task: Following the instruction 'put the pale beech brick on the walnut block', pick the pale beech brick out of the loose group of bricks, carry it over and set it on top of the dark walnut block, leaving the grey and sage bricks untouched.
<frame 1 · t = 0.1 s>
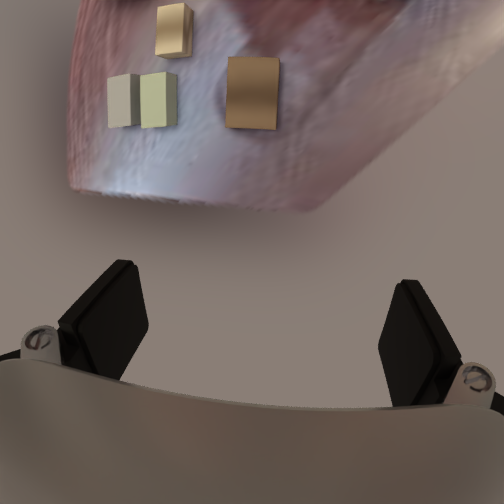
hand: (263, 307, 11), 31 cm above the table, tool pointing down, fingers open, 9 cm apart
sage brick: (165, 100, 37), on the table
grey brick: (132, 100, 37), on the table
beech brick: (180, 34, 32), on the table
walnut base: (254, 93, 35), on the table
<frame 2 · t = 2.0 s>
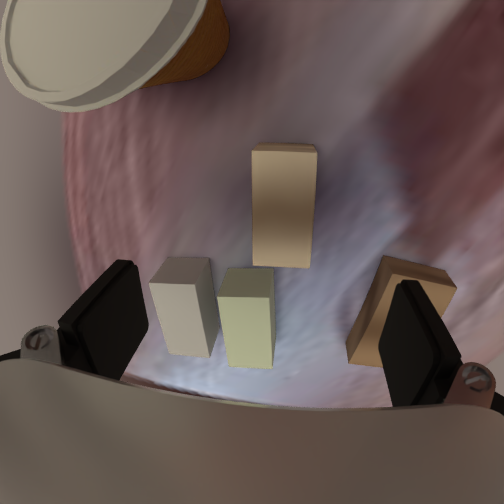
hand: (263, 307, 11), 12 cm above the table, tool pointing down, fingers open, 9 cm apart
sage brick: (253, 304, 25), on the table
grey brick: (195, 293, 26), on the table
disposable coffee cup: (184, 39, 17), on the table
beech brick: (285, 193, 21), on the table
walnut base: (393, 306, 24), on the table
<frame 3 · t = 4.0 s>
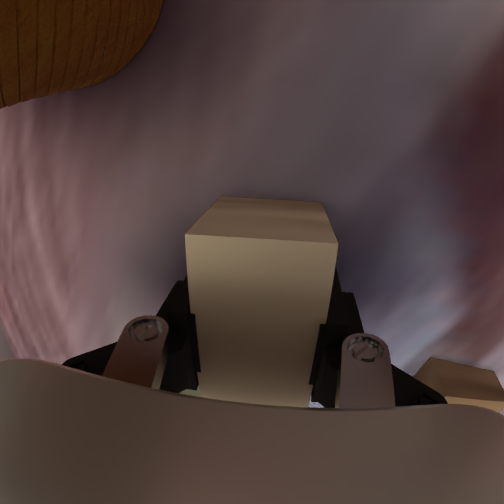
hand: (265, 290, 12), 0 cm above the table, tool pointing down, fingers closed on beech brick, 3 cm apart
disposable coffee cup: (94, 17, 8), on the table
beech brick: (266, 288, 12), on the table, touching gripper
walnut base: (418, 409, 15), on the table
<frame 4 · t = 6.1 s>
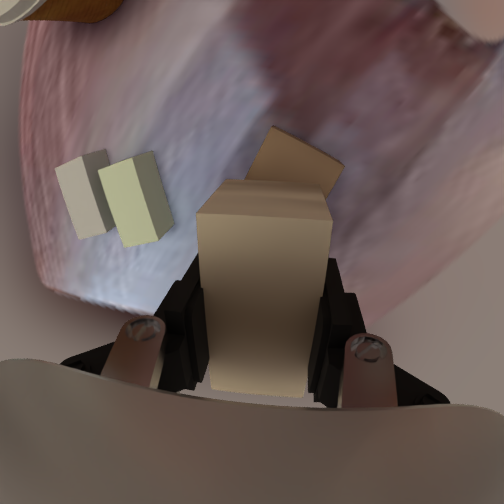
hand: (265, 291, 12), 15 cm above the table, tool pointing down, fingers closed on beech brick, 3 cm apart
sage brick: (147, 191, 27), on the table
grey brick: (102, 187, 27), on the table
beech brick: (269, 264, 13), point 14 cm above the table, touching gripper
walnut base: (281, 189, 25), on the table
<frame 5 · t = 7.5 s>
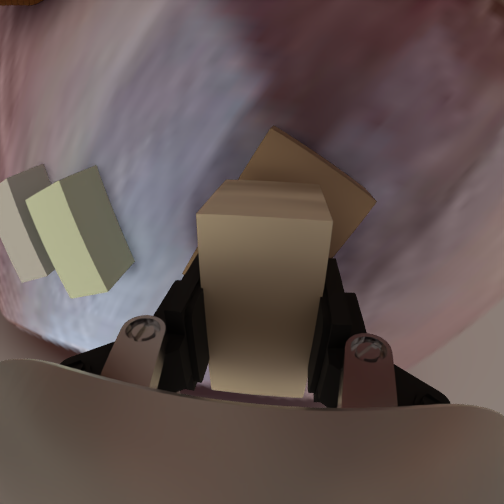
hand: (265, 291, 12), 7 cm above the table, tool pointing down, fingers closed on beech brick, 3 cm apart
sage brick: (97, 220, 19), on the table
grey brick: (47, 213, 19), on the table
beech brick: (269, 264, 13), point 5 cm above the table, touching gripper
walnut base: (276, 219, 18), on the table
when the fingers open (5 cm above the table, at t = 8.5 s): beech brick drops 1 cm, resting on walnut base.
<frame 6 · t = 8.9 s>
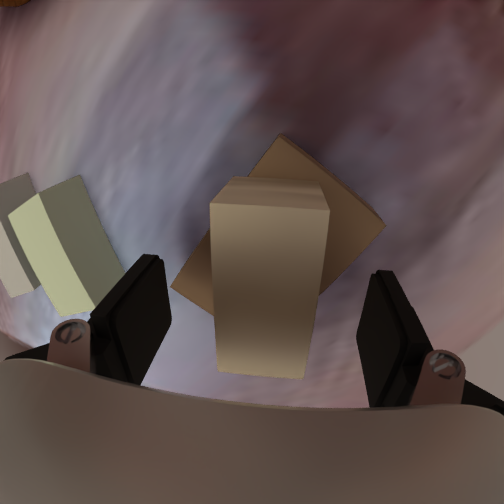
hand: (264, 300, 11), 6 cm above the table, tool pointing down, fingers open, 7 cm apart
sage brick: (84, 233, 18), on the table
grey brick: (34, 224, 18), on the table
beech brick: (271, 255, 14), point 3 cm above the table, touching walnut base
walnut base: (274, 233, 17), on the table, touching beech brick
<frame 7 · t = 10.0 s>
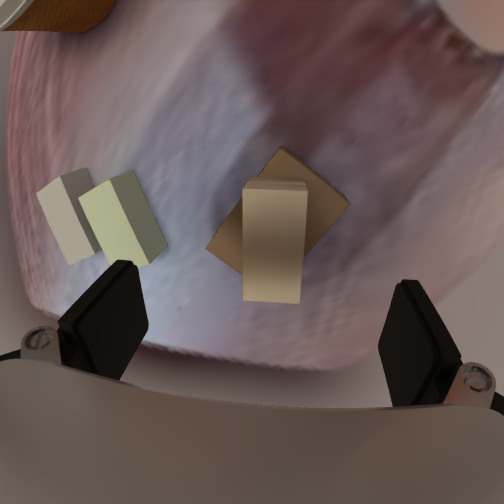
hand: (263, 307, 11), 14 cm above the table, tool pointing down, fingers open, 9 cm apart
sage brick: (134, 214, 25), on the table
grey brick: (89, 208, 25), on the table
disposable coffee cup: (90, 4, 18), on the table
beech brick: (276, 227, 21), point 3 cm above the table
walnut base: (277, 214, 24), on the table
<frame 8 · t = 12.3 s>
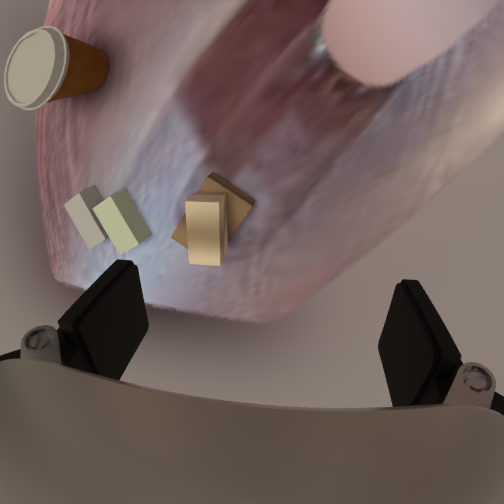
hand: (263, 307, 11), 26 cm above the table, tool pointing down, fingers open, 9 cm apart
sage brick: (129, 215, 39), on the table
grey brick: (99, 211, 39), on the table
disposable coffee cup: (90, 70, 31), on the table
beech brick: (212, 221, 35), point 3 cm above the table
walnut base: (215, 214, 38), on the table
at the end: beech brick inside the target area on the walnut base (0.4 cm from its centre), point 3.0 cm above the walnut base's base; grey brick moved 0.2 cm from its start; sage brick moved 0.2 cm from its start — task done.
